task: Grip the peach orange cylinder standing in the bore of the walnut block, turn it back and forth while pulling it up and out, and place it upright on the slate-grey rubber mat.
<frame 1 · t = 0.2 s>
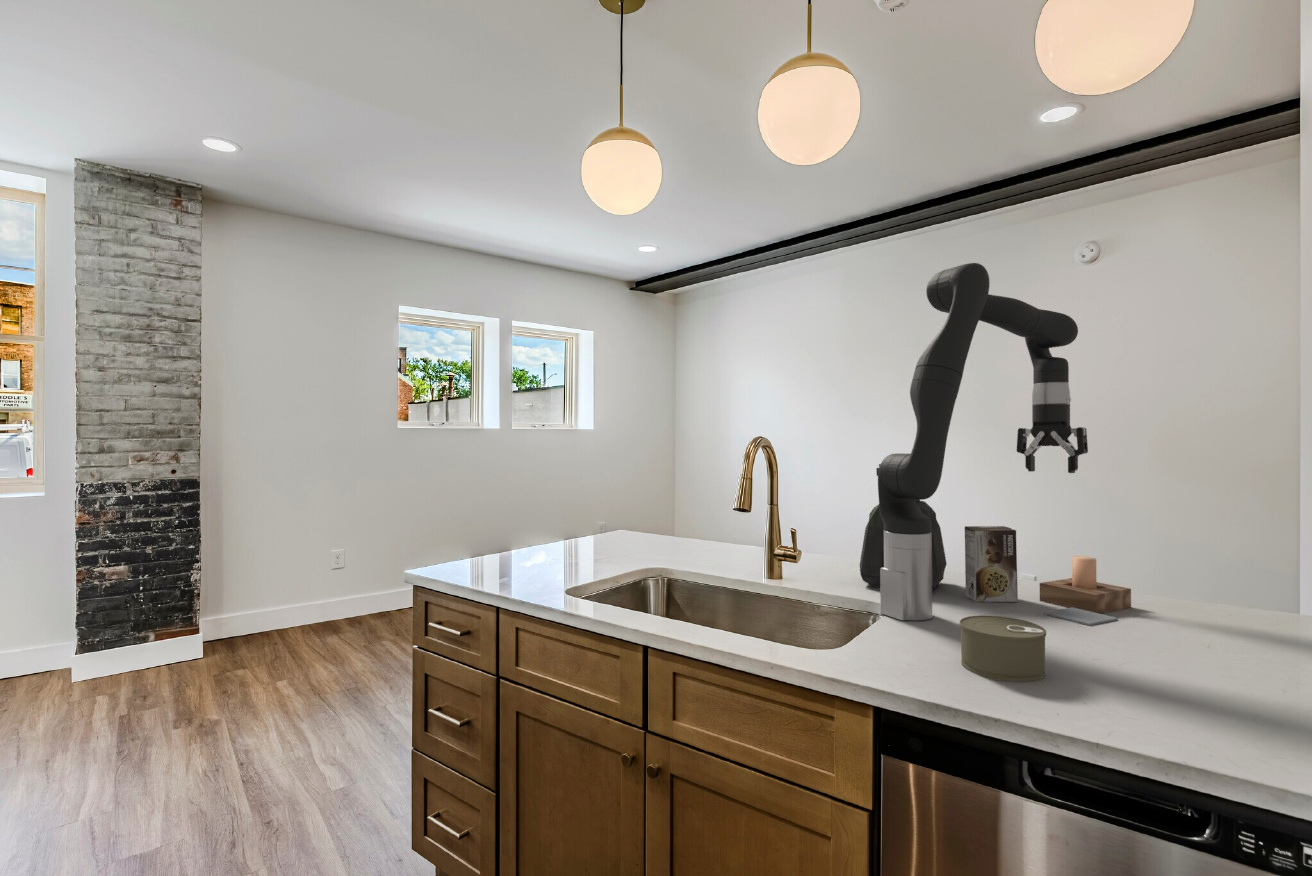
hand: (1051, 472, 149), 28 cm above the worktop, fingers open, 8 cm apart
rubber mat: (1080, 617, 129), on the worktop
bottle: (903, 585, 158), on the worktop
can: (1002, 670, 100), on the worktop
coffee box: (990, 599, 144), on the worktop
peach orange cylinder: (1084, 581, 139), in the bore block
bore block: (1084, 604, 139), on the worktop
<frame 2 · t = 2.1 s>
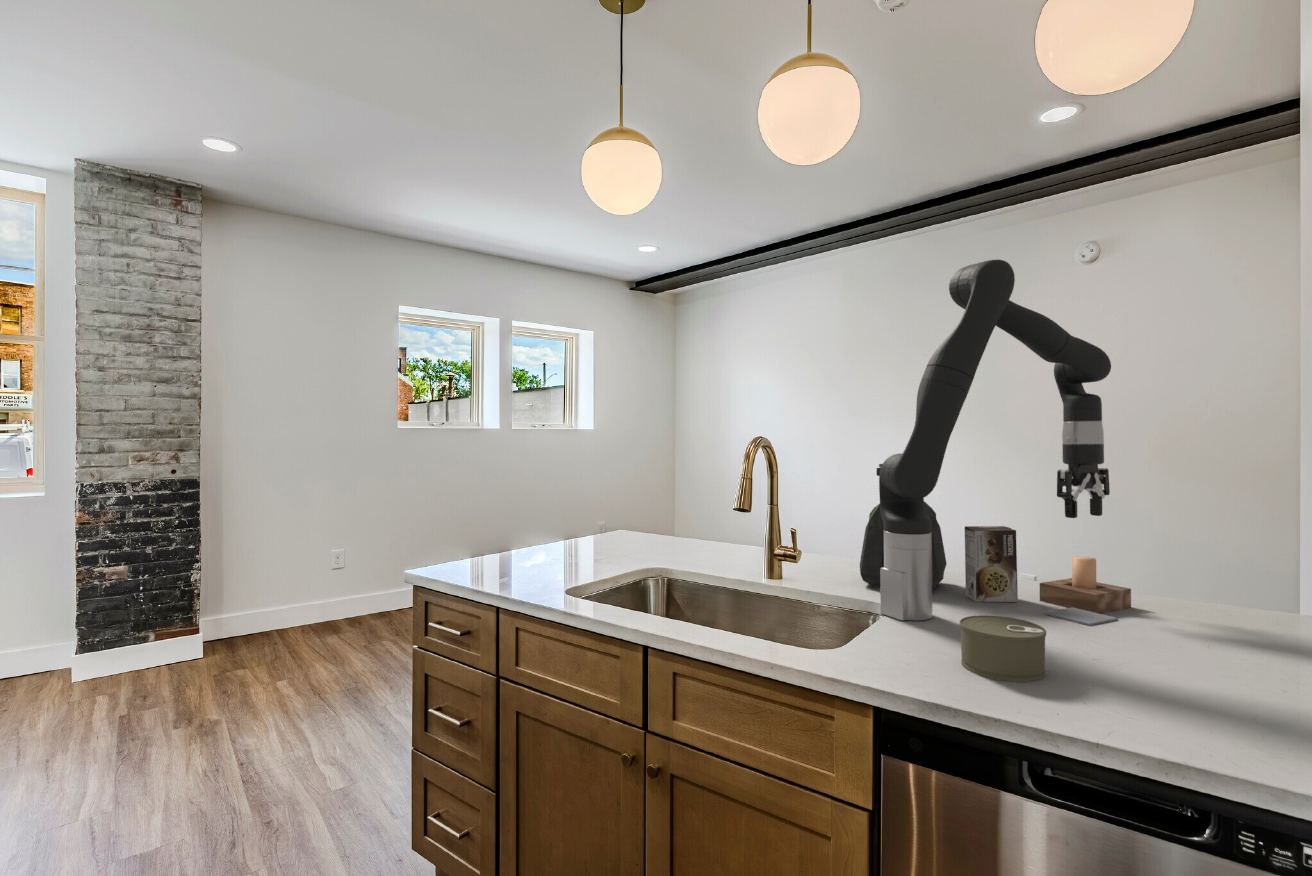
hand: (1083, 516, 139), 19 cm above the worktop, fingers open, 8 cm apart
nothing on the worktop moved.
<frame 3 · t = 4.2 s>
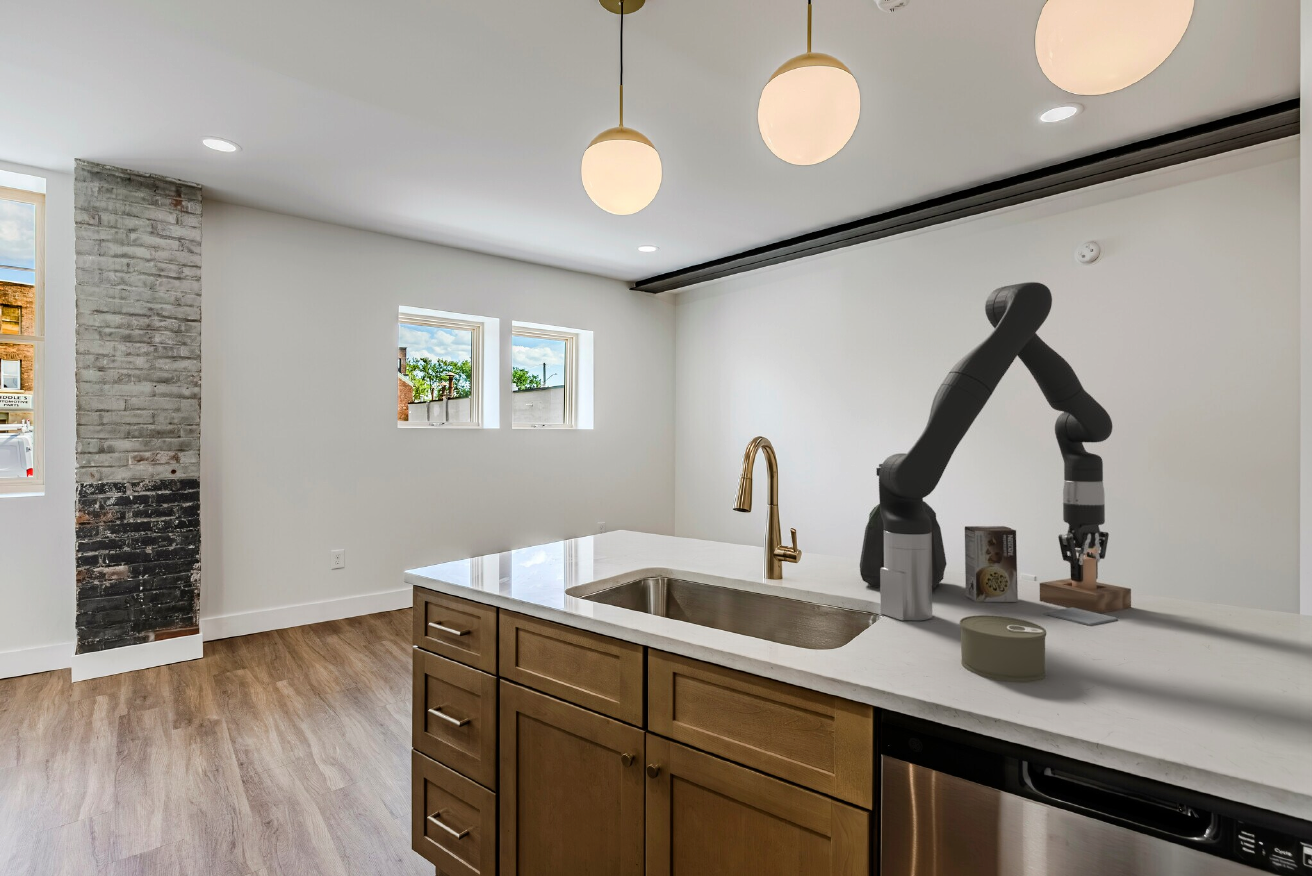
hand: (1084, 579, 139), 5 cm above the worktop, fingers closed on peach orange cylinder, 4 cm apart
peach orange cylinder: (1084, 581, 139), in the bore block, touching gripper
everything else where it was.
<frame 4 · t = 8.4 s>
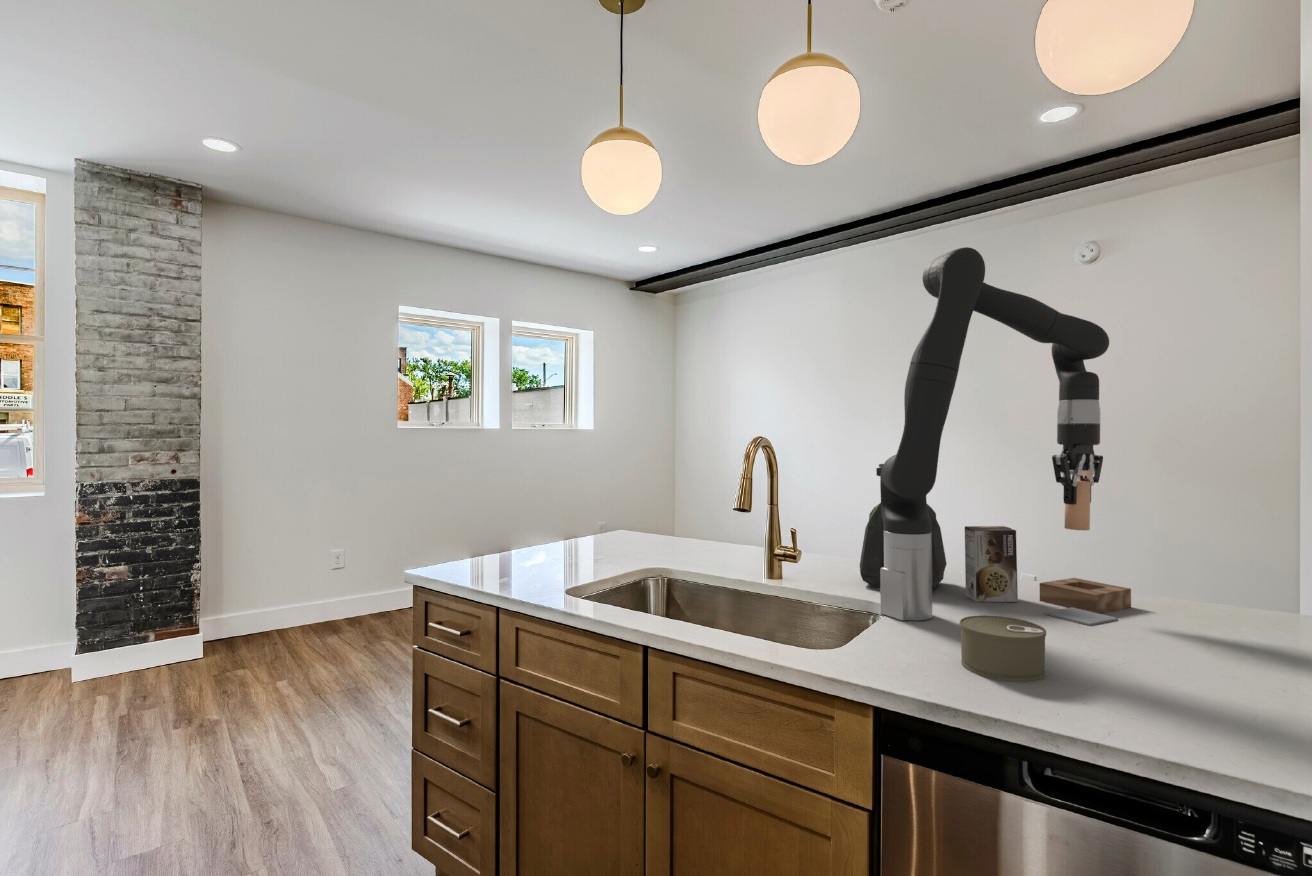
hand: (1077, 503, 133), 23 cm above the worktop, fingers closed on peach orange cylinder, 4 cm apart
peach orange cylinder: (1077, 505, 133), point 22 cm above the worktop, touching gripper
everything else where it was.
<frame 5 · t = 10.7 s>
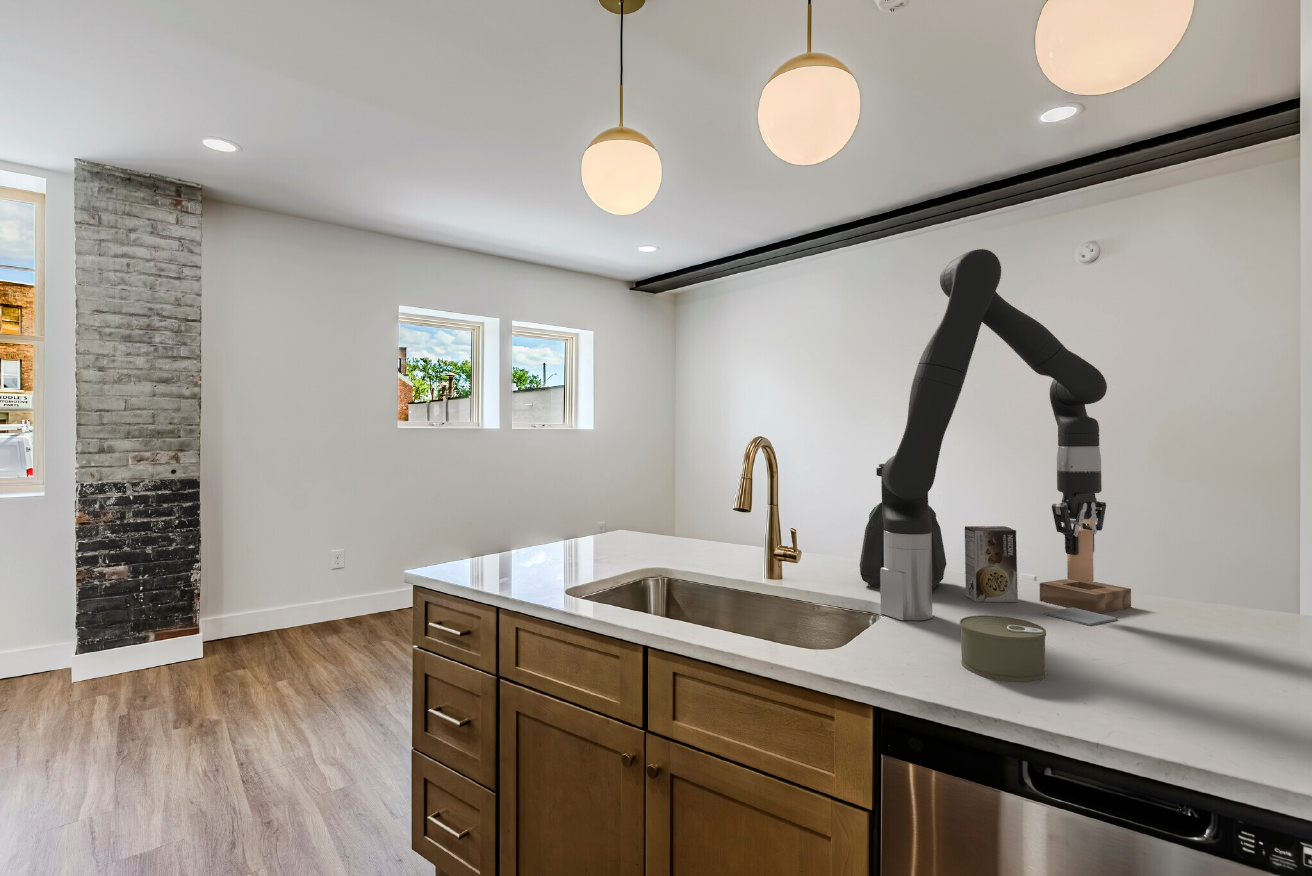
hand: (1079, 553, 129), 13 cm above the worktop, fingers closed on peach orange cylinder, 4 cm apart
peach orange cylinder: (1080, 554, 129), point 13 cm above the worktop, touching gripper
everything else where it was.
when the fingers open (7 cm above the worktop, at t = 12.7 s): peach orange cylinder drops 1 cm, resting on rubber mat.
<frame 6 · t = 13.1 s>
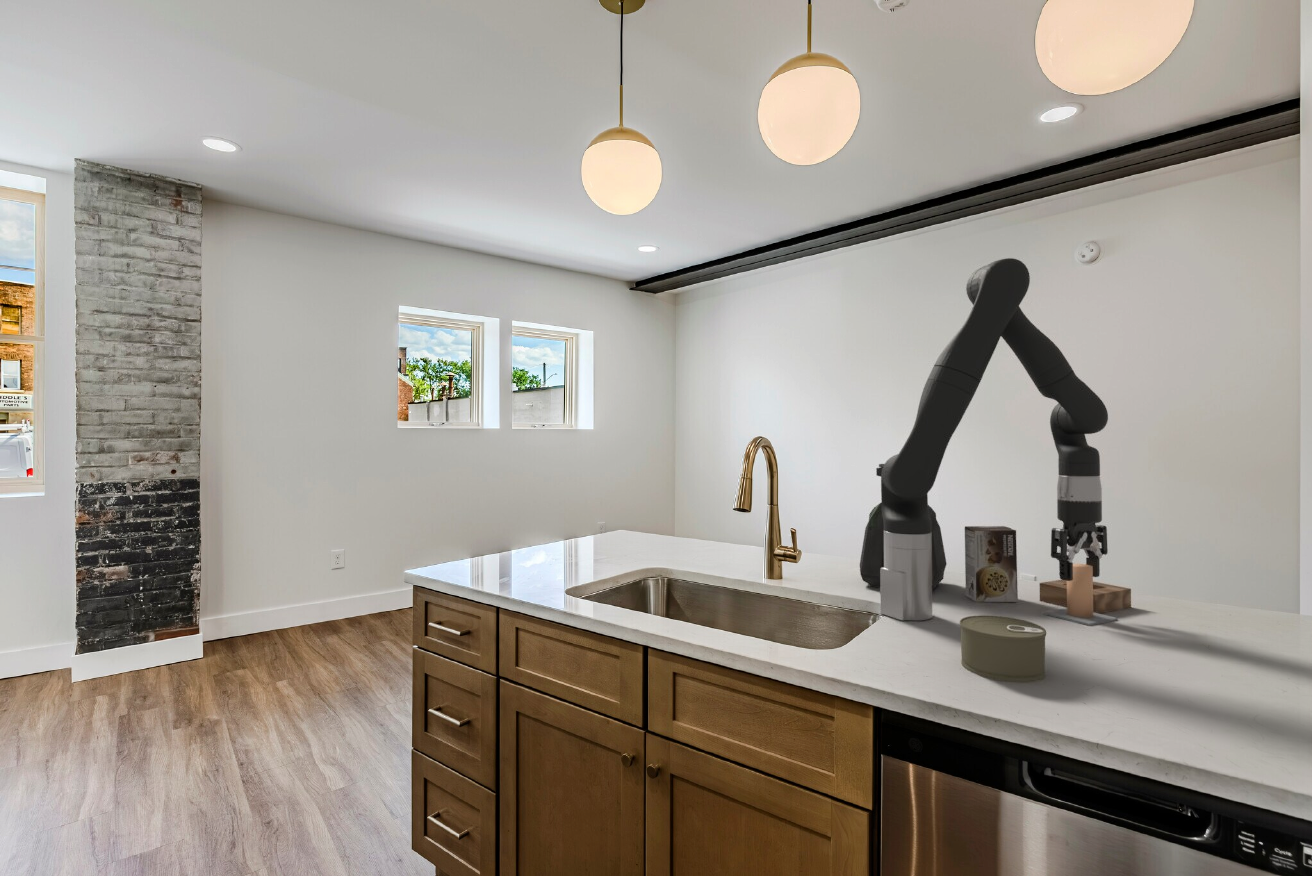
hand: (1079, 578, 129), 8 cm above the worktop, fingers open, 8 cm apart
peach orange cylinder: (1079, 590, 129), on the rubber mat
everything else where it was.
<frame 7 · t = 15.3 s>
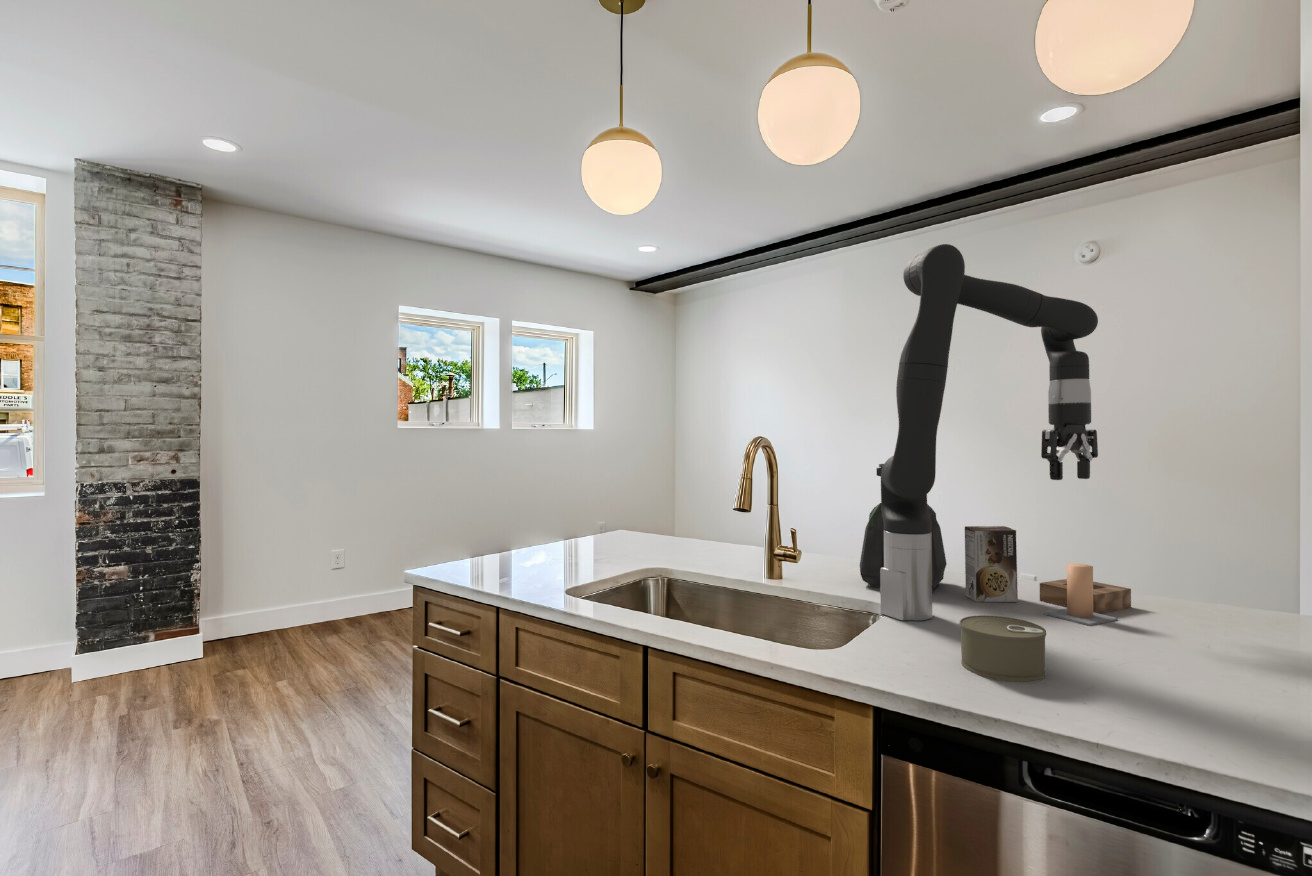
hand: (1070, 479, 133), 28 cm above the worktop, fingers open, 8 cm apart
nothing on the worktop moved.
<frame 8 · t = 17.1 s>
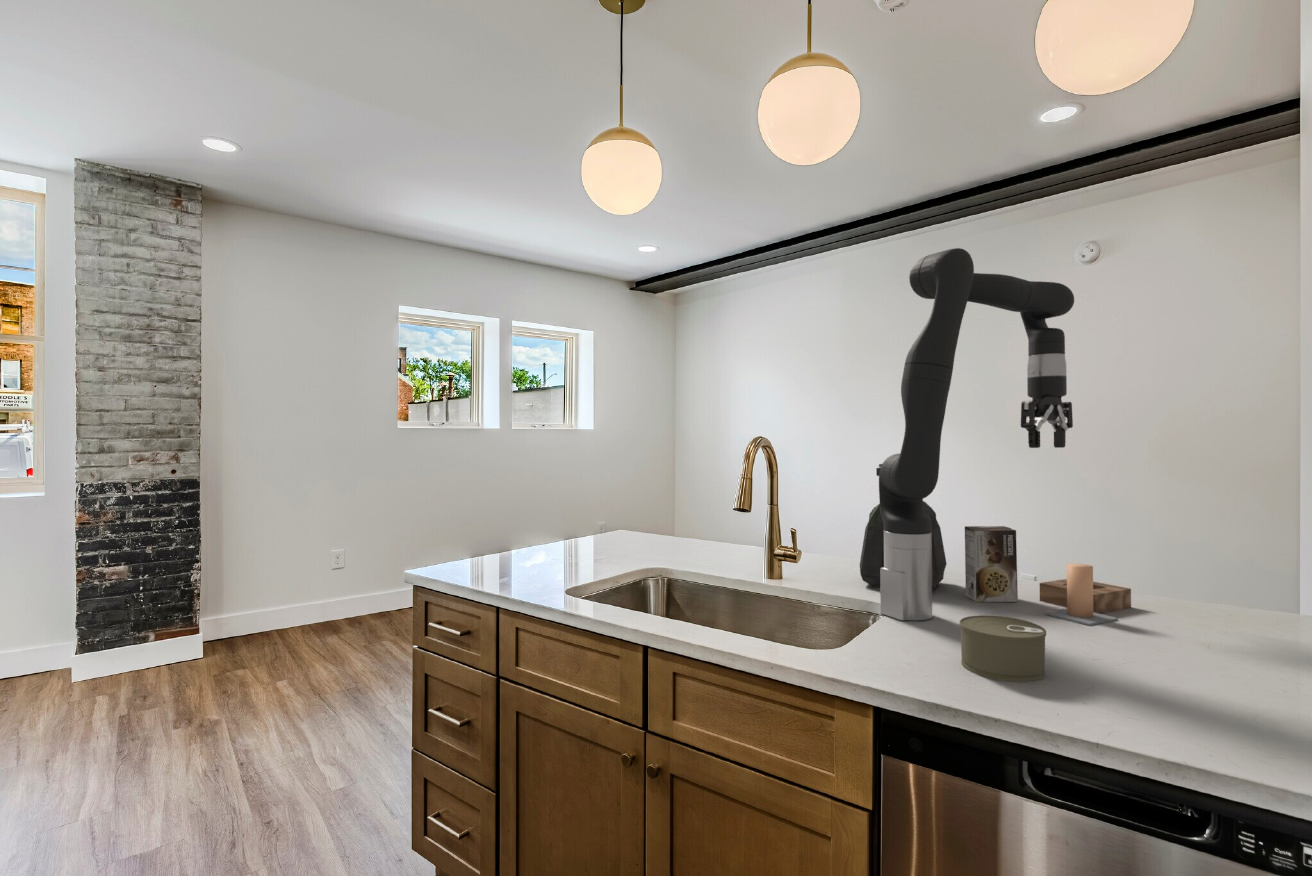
hand: (1047, 447, 143), 34 cm above the worktop, fingers open, 8 cm apart
nothing on the worktop moved.
at the end: peach orange cylinder inside the target area on the rubber mat (0.0 cm from its centre), point 5.4 cm above the rubber mat's base; peach orange cylinder tilted 0°; the gripper is holding nothing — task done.
